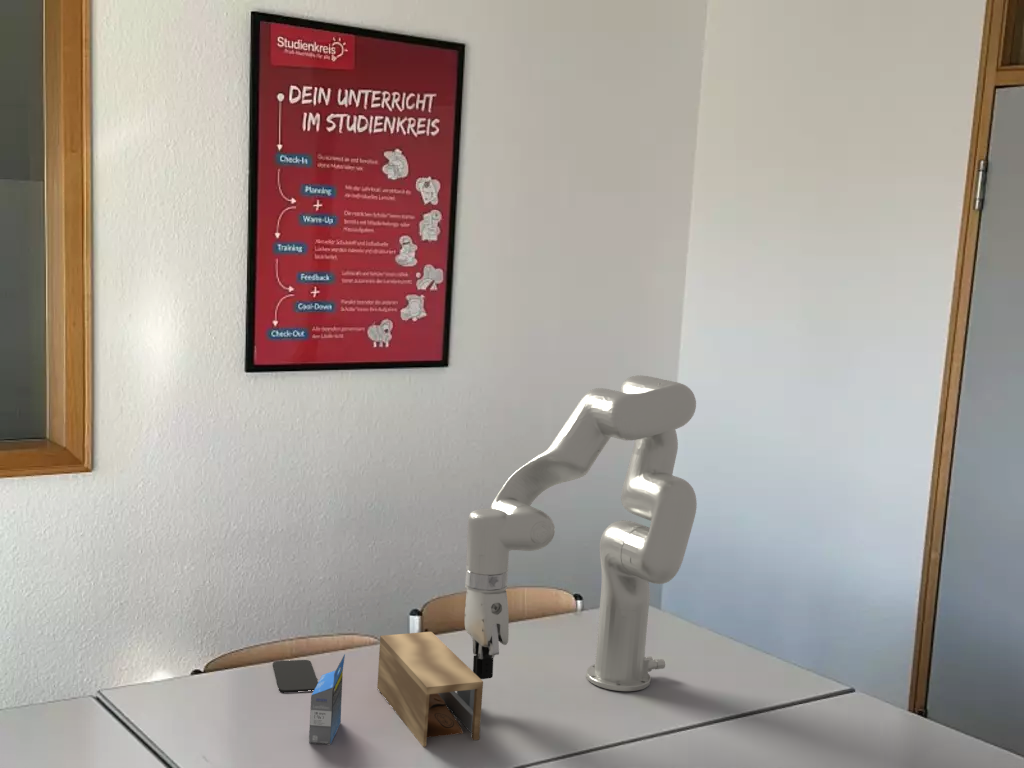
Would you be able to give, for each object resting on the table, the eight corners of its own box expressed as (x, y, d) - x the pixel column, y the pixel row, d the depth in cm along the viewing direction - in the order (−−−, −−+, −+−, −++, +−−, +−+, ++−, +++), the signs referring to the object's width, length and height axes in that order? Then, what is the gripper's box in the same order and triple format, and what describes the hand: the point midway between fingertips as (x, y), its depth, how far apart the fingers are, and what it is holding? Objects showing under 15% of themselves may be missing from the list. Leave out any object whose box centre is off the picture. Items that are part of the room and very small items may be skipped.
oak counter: (427, 683, 210) (431, 631, 209) (479, 739, 188) (483, 681, 186) (377, 688, 206) (380, 635, 205) (423, 746, 183) (427, 687, 182)
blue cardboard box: (318, 720, 191) (322, 651, 189) (341, 722, 191) (345, 653, 189) (307, 743, 182) (311, 670, 180) (331, 745, 182) (335, 672, 180)
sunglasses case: (467, 733, 190) (450, 702, 188) (432, 757, 188) (414, 726, 186) (436, 692, 206) (421, 664, 204) (404, 713, 204) (387, 685, 203)
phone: (310, 659, 217) (320, 688, 203) (310, 663, 217) (320, 692, 203) (271, 661, 215) (279, 690, 201) (271, 665, 215) (279, 695, 201)
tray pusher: (452, 685, 210) (454, 660, 209) (495, 729, 192) (497, 701, 191) (430, 688, 208) (431, 662, 207) (470, 732, 190) (472, 704, 189)
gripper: (523, 589, 193) (518, 690, 196) (489, 565, 207) (485, 659, 209) (483, 593, 190) (479, 696, 192) (451, 568, 203) (448, 664, 206)
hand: (482, 677), depth 201 cm, fingers closed
